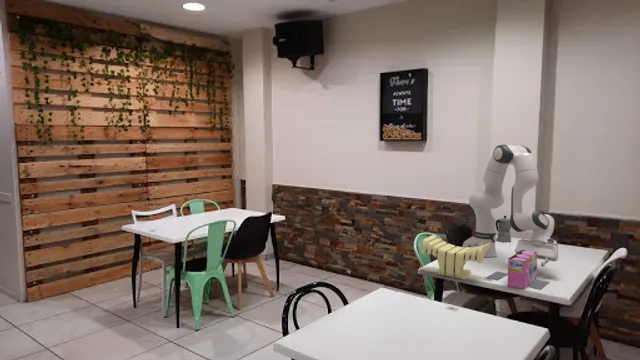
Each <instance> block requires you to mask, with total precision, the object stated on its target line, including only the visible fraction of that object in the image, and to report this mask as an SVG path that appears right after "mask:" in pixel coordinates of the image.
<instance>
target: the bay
mask: <svg viewBox="0 0 640 360" xmlns="http://www.w3.org/2000/svg"><path fill="white" fill-rule="evenodd" d="M506 276H508V272H502V271H498V270H496V271H495V272H493V273H491V274H489V275H487V276H486V277H485V278H486V279H490V280H493V279H494V280H495V281H500V280H501V279H503V278H504V277H506ZM550 283H551V282H550V281H548V280H541V279H537V278H536V279H535V280H534V281H533V282H532V283H530V284H529V285H528V286H527V287H526V288H532V289H536V290H542V289H544V288H545V287H546V286H547V285H549V284H550Z"/></svg>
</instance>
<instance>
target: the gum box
mask: <svg viewBox="0 0 640 360" xmlns="http://www.w3.org/2000/svg"><path fill="white" fill-rule="evenodd" d="M507 263H508V264H507V273H508V275H507V287H512V288H517V289H522V290H525V289H526V288H528V287H527V286H529V285H530V284H531V283H533V282H534V281H536V280H537V278H538V258H537V252H534V253H532V252H526V251H525V250H521V251H519V252H518V253H516V252H515V254H514V255H512V256H510V257H509V258H507Z"/></svg>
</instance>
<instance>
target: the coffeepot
mask: <svg viewBox="0 0 640 360" xmlns="http://www.w3.org/2000/svg"><path fill="white" fill-rule="evenodd" d="M495 220H496V226H495V230H496V231H497V232H498V233H497V236H496V241H497V242H499V243H504V242H505V243H507V242H509V243H511V242H512V238H511V232H510V231H511V230H512V229H511V228H512V227H511V225H510V218H507V215H503V218H502V217H501V218H498V219H495Z"/></svg>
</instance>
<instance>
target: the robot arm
mask: <svg viewBox="0 0 640 360" xmlns="http://www.w3.org/2000/svg"><path fill="white" fill-rule="evenodd" d="M510 165H512V166H514V172H515V174H514V175H515V180H514V183H513V186H512V187H511V193H510V194H511V197H510V198H511V199H510V200H511V201H510V202H511V203H510V204H511V205H510V217H509V219H510V225H511V228H512V230H514V231H515V232H517V233H522V232H526V231H531V230H532V231H533V233H532V235H531V238H530V239H523V238H522V239H519V240H518V241H517V243H516V244H517V245H516V247H515V249H514V250H515V251H514V252H515V254H516V253H518V252H519V251H521V250H525V251H526V252H532V253H534V252H537V260H539V259H540V260H543V261H541V262H540V266H541V267H545V266H546V264H548V263H549V261H550V262H557V261H558V258H559V245H558V242H557V241H556V240H554V239H552V238H551V236H552V235H553V233H554V228H555V218H554V217H553V216H552V215H550V214H547V213H543V212H542V211H540V210H537V209H536V210H529V211H525V212H523V198H524V196H525V195H526V194H527V193H528V192H529V191H530V190H532V189H533V188H535V187H536V186H537V184H538V182H539V173H538V172H539V171H538V167H537V163H536V160H535V157H534V154H532V150H531V149H530V148H528V147H526V146H523V145H518V144H499V145H497V146H495V148H494V150H493V152H492V155H491V157H490V158H489V161H488V164H487V166H486V169H485V173H484V175H483V183H484V184H485V188H484V190H483V191H477V192H475V193H472V194H471V195H470V196H469V201H468V202H469V206H470V207H471V208H472V209H473V211H474V214H475V221H476V222H475V230H474V231H472V232H471V235H472V236H471V237H469V238H467V239H466V240H464V241H463V243H462V247H464V248H466V247H473V248H474V247H477V246H481V245H485V244H487V243H490V248H489V249H488V250H487V251H486V252H485V254H484V258H494V257H497V256H498V254H497V249H496V248H497V247H496V241H497V232H496V220H497V219H496V218H495V217H494V216H493V213H492V210H493V209H497V208H499V207H501V206H503V204H504V203H505V195H504V194H503V185H504V180H505V177H506V174H507V172H508V171H507V170H508V167H509V166H510Z"/></svg>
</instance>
